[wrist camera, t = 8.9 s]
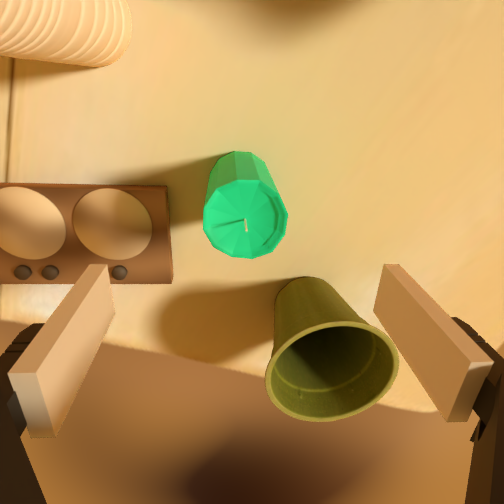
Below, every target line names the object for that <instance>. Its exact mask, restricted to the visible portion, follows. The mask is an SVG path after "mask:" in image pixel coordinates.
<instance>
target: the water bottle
mask: <svg viewBox="0 0 504 504" xmlns="http://www.w3.org/2000/svg"><path fill="white" fill-rule="evenodd" d="M131 24H132V21H131V15H130V11H129V8H128V5H127V2H126V0H0V56H8V57H13V58H19V59H26V60H30V59H32V60H37V61H45V62H47V61H49V62H55V63H64V64H74V65H80V66H89V67H102V66H106V65H110V64H112V63H114V62H115V61H117V60H118V59H119V58H120V57H121V56H122V55H123V53H124V52H125V51H126V49H127V47H128V45H129V42H130V39H131V33H132V27H131Z"/></svg>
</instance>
